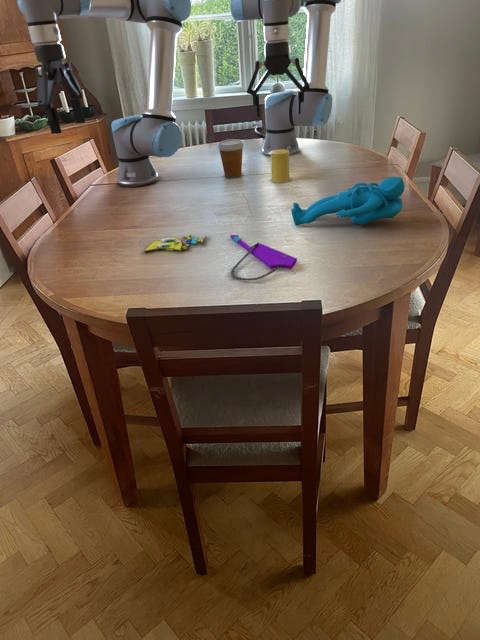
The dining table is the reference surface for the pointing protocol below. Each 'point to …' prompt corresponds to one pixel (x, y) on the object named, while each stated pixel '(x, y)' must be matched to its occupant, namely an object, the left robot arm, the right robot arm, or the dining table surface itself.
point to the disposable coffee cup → (231, 156)
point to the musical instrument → (264, 257)
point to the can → (280, 165)
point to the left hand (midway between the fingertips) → (69, 128)
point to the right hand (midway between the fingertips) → (278, 114)
